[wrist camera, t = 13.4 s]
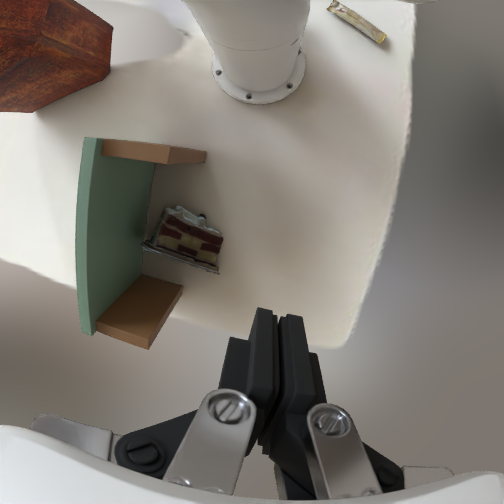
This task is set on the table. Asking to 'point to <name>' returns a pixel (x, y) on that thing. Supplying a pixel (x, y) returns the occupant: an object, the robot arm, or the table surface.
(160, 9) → the table surface
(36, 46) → the handbag
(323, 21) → the table surface
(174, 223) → the chocolate cake
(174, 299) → the cubby shelf
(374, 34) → the snack bar
